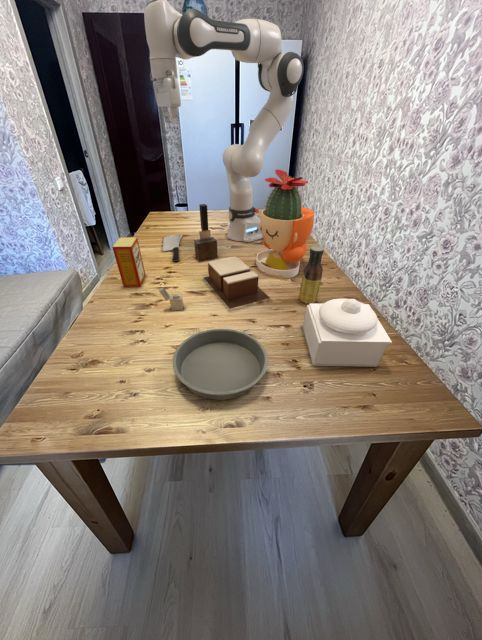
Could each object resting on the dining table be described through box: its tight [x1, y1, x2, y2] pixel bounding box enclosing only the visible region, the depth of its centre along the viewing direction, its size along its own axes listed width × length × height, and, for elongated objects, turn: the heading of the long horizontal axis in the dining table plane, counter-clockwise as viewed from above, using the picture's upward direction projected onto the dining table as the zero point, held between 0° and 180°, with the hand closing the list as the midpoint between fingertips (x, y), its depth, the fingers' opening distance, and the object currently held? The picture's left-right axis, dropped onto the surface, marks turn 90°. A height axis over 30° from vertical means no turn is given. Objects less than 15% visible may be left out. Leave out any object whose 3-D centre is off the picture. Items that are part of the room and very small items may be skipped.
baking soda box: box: [111, 236, 147, 288], centre depth 108 cm, size 10×6×16 cm
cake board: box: [203, 275, 271, 310], centre depth 108 cm, size 25×16×1 cm, turn 25°
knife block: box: [193, 236, 219, 263], centre depth 127 cm, size 9×5×8 cm, turn 115°
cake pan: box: [172, 328, 269, 401], centre depth 75 cm, size 25×25×4 cm
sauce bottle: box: [298, 245, 325, 305], centre depth 94 cm, size 6×6×20 cm
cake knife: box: [198, 203, 212, 241], centre depth 122 cm, size 3×5×22 cm, turn 115°
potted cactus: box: [255, 168, 315, 279], centre depth 111 cm, size 22×22×35 cm
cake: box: [207, 256, 251, 291], centre depth 109 cm, size 12×12×7 cm
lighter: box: [158, 287, 185, 311], centre depth 96 cm, size 7×2×8 cm, turn 91°
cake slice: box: [223, 270, 260, 299], centre depth 102 cm, size 4×12×7 cm, turn 115°
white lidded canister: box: [302, 298, 393, 368], centre depth 78 cm, size 18×18×16 cm
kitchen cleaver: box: [162, 234, 184, 263], centre depth 137 cm, size 31×2×10 cm
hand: (170, 123), depth 108 cm, fingers open, 8 cm apart
